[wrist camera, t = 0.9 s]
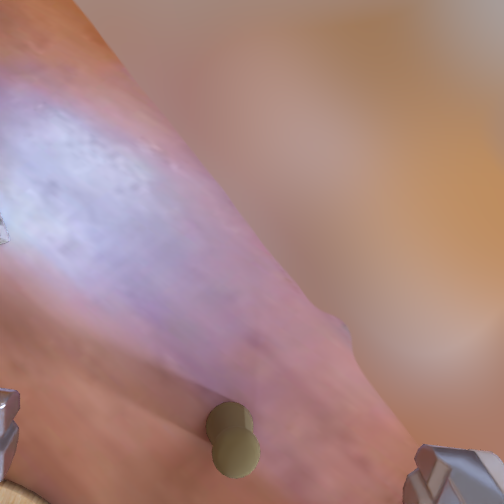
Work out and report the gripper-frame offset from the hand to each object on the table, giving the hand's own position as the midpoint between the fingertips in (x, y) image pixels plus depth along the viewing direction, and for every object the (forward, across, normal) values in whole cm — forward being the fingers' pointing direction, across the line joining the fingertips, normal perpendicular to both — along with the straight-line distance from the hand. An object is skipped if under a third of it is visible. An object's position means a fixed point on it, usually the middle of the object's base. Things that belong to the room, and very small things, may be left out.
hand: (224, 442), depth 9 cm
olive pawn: (+40, +7, -34) cm, 53 cm away
